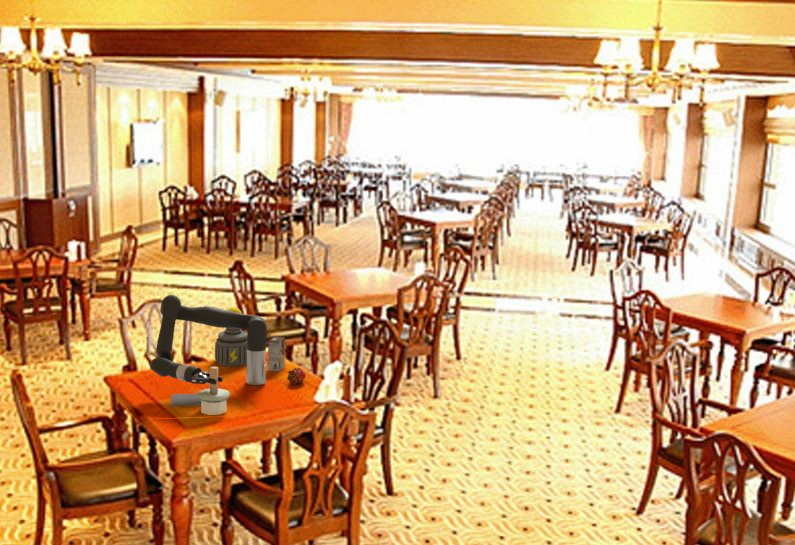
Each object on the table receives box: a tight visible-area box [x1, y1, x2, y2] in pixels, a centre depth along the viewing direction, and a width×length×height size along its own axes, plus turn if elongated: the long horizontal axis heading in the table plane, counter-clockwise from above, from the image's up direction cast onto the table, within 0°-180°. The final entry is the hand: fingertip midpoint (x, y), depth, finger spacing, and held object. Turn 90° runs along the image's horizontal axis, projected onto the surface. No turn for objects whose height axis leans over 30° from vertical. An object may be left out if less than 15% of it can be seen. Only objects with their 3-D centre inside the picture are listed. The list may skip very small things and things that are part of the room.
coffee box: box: [267, 336, 286, 372], centre depth 449 cm, size 9×6×16 cm
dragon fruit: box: [286, 367, 307, 385], centre depth 429 cm, size 8×8×12 cm
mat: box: [170, 393, 201, 407], centre depth 397 cm, size 16×16×1 cm
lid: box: [197, 366, 231, 401], centre depth 383 cm, size 14×14×13 cm
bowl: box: [200, 398, 228, 416], centre depth 385 cm, size 11×11×6 cm
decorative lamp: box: [214, 306, 247, 368], centre depth 456 cm, size 19×19×30 cm
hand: (218, 380), depth 381 cm, fingers closed on lid, 3 cm apart
